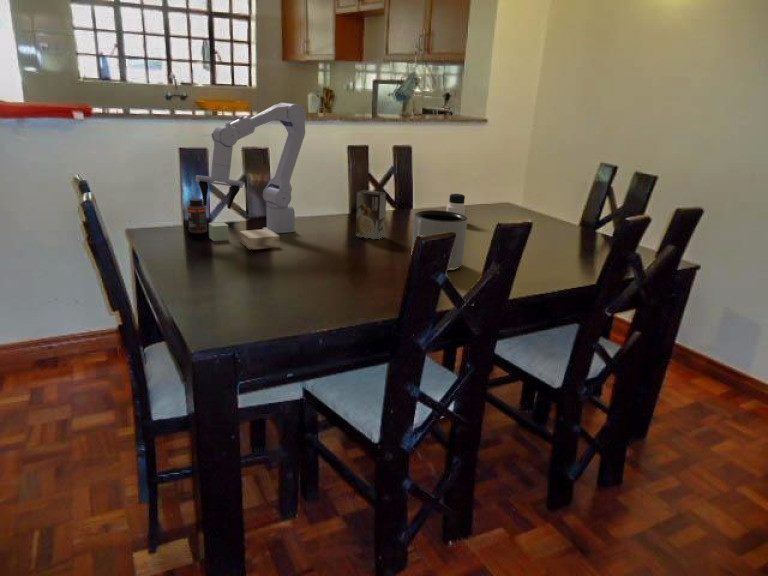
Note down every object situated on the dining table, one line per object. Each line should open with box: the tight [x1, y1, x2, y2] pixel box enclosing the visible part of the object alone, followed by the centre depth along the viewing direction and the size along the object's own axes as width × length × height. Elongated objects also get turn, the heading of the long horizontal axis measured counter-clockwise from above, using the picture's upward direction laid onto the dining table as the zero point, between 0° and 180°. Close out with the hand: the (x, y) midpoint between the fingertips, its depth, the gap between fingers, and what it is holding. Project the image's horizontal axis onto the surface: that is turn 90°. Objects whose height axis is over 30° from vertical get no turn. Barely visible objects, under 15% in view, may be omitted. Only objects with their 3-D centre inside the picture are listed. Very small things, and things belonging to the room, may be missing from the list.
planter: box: [410, 209, 468, 269], centre depth 170 cm, size 16×16×16 cm
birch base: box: [239, 228, 281, 251], centre depth 182 cm, size 10×10×4 cm
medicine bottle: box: [445, 193, 467, 216], centre depth 229 cm, size 7×7×12 cm
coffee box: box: [355, 189, 387, 240], centre depth 198 cm, size 9×6×16 cm
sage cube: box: [208, 221, 230, 242], centre depth 186 cm, size 5×5×5 cm
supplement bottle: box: [187, 198, 208, 234], centre depth 191 cm, size 6×6×11 cm
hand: (216, 206), depth 183 cm, fingers open, 7 cm apart
